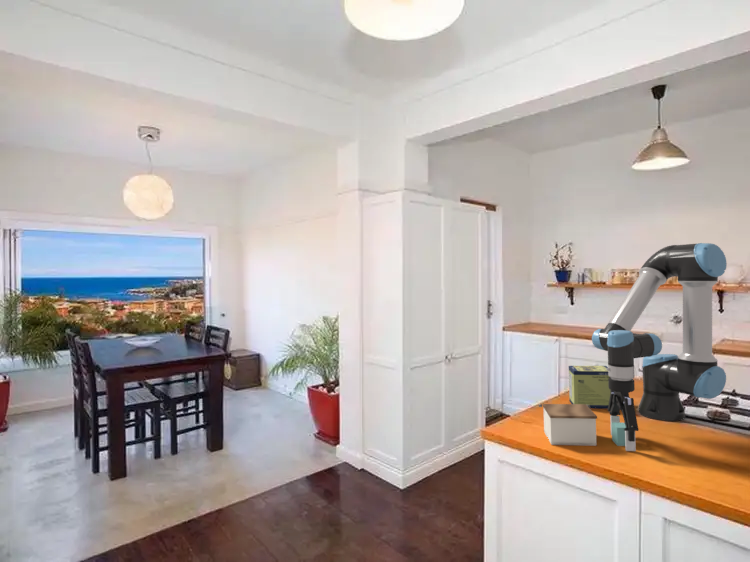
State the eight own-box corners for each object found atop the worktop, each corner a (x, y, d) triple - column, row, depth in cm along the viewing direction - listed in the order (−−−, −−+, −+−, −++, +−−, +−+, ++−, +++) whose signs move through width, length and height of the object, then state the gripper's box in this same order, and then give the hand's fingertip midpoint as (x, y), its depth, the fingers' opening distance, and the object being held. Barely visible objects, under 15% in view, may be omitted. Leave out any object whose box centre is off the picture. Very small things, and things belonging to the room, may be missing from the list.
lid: (585, 406, 160) (585, 404, 160) (597, 418, 148) (597, 416, 148) (542, 406, 163) (542, 403, 163) (550, 418, 150) (550, 415, 150)
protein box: (615, 409, 184) (614, 370, 184) (574, 408, 188) (573, 370, 187) (607, 401, 195) (606, 365, 194) (568, 401, 198) (567, 365, 197)
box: (590, 432, 161) (589, 404, 160) (601, 445, 148) (600, 415, 148) (539, 431, 164) (538, 403, 163) (546, 444, 151) (545, 415, 151)
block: (628, 440, 152) (627, 422, 152) (634, 446, 147) (633, 427, 147) (612, 440, 153) (611, 422, 153) (617, 445, 148) (617, 427, 148)
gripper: (597, 369, 162) (598, 428, 163) (622, 387, 138) (624, 457, 138) (619, 369, 161) (621, 429, 162) (649, 388, 137) (651, 458, 137)
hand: (622, 442), depth 150 cm, fingers open, 13 cm apart
